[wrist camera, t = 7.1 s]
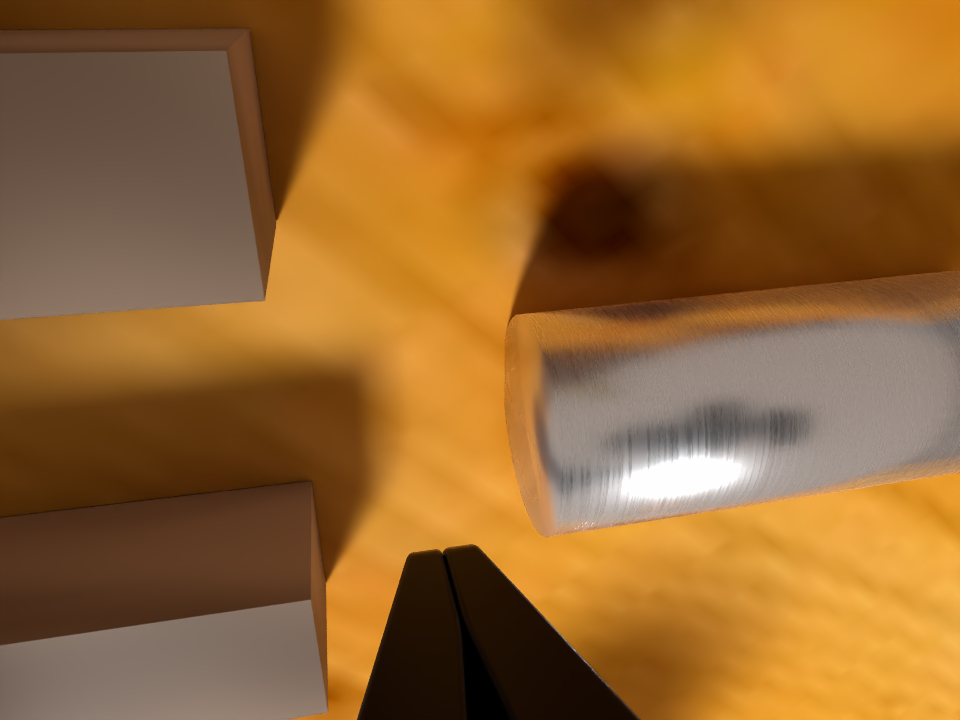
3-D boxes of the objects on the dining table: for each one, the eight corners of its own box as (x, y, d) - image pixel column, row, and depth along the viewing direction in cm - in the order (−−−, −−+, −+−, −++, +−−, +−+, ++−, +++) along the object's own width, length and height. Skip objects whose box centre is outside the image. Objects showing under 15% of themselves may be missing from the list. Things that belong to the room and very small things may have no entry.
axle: (986, 226, 14) (1154, 361, 12) (898, 365, 17) (1016, 501, 14) (510, 269, 13) (573, 438, 10) (498, 415, 16) (545, 579, 13)
